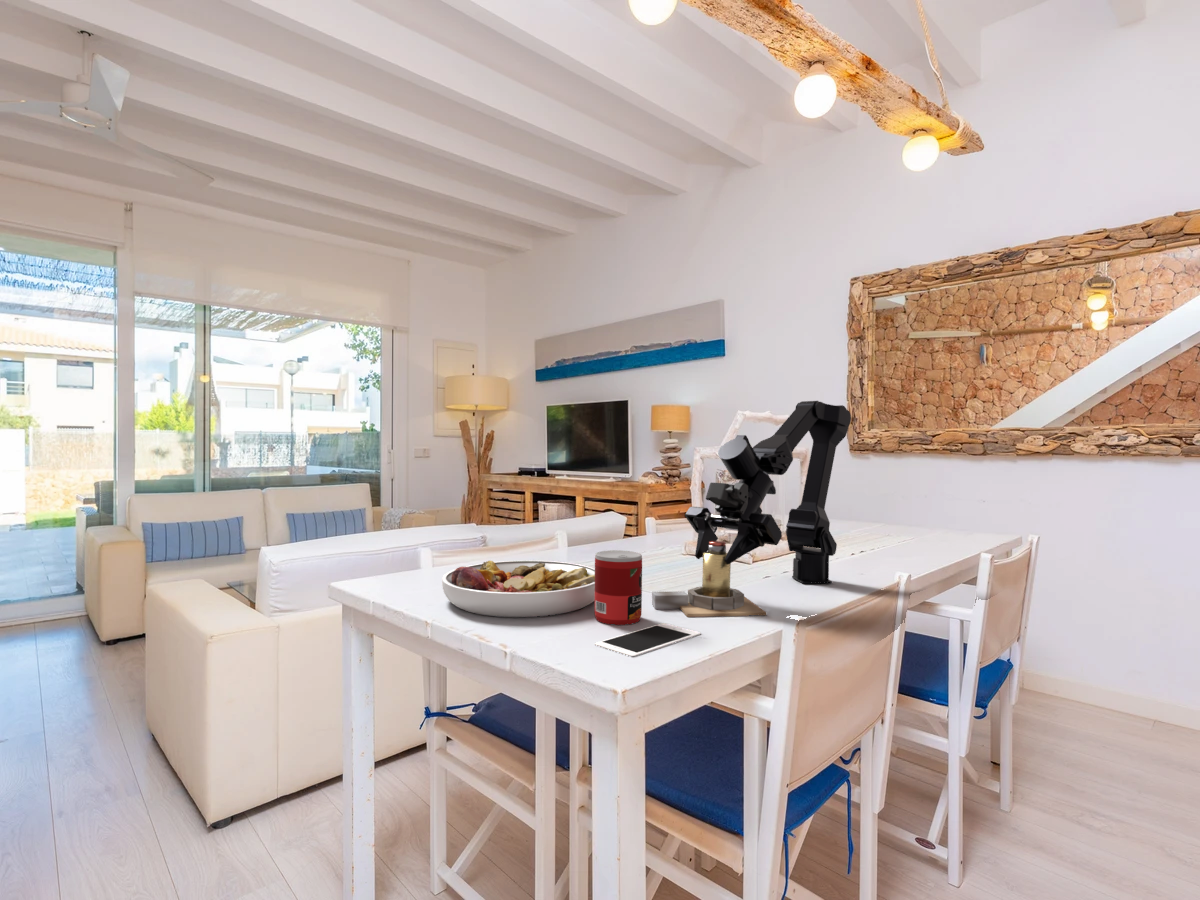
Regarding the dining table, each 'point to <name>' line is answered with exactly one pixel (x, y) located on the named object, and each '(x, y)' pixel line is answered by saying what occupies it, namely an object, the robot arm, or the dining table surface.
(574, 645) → the dining table surface
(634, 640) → the cell phone
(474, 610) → the bowl
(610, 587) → the canned food
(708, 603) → the socket
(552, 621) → the dining table surface
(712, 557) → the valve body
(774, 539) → the robot arm
